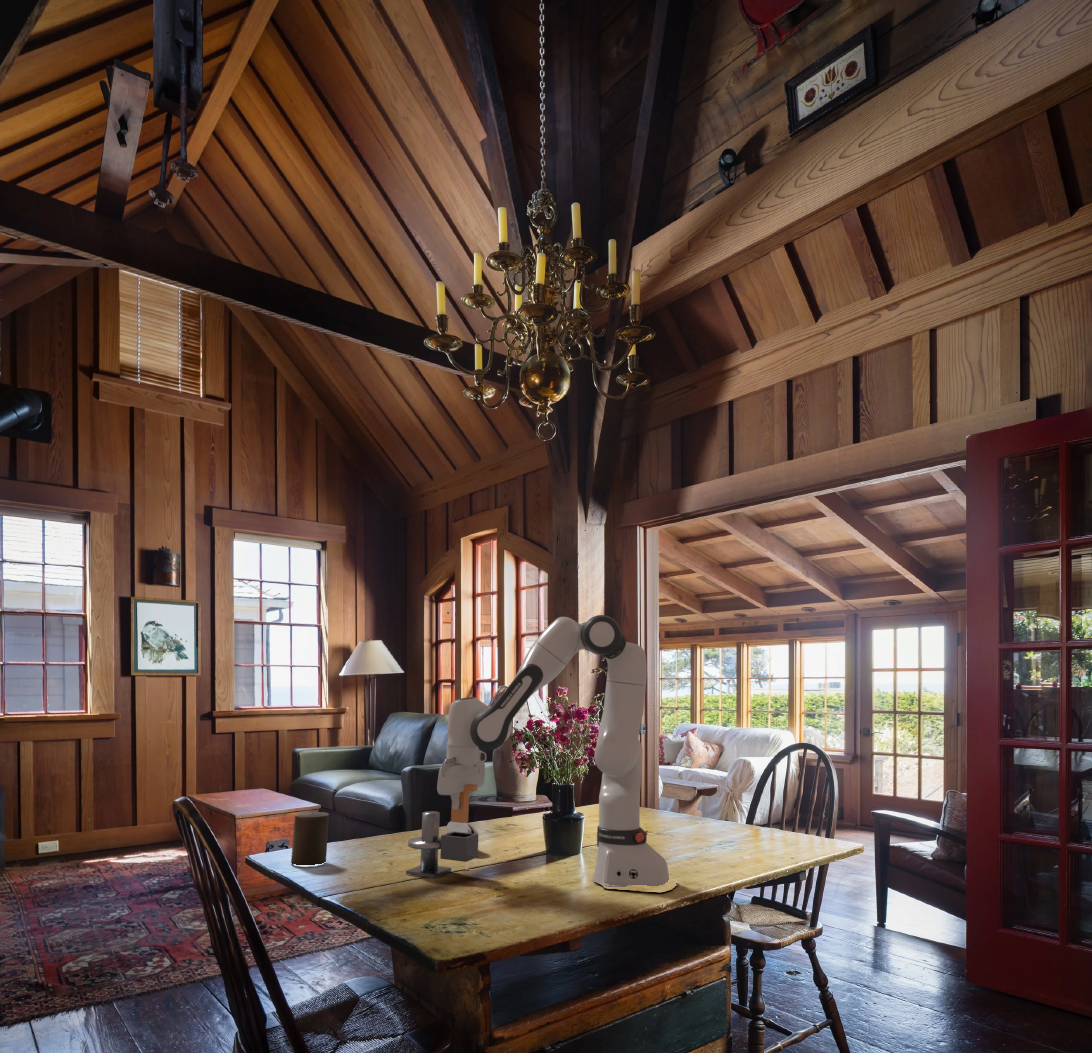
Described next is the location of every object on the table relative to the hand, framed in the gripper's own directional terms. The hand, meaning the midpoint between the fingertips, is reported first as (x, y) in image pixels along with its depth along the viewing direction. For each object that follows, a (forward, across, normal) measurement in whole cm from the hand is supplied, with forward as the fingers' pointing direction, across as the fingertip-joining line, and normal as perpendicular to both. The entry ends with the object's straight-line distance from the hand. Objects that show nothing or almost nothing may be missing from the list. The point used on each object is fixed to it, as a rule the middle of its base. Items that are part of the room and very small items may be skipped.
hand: (460, 808), depth 230 cm
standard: (+18, 0, +6) cm, 19 cm away
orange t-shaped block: (+4, 0, 0) cm, 4 cm away
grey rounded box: (+18, +28, +17) cm, 37 cm away
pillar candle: (+19, -7, +45) cm, 49 cm away
